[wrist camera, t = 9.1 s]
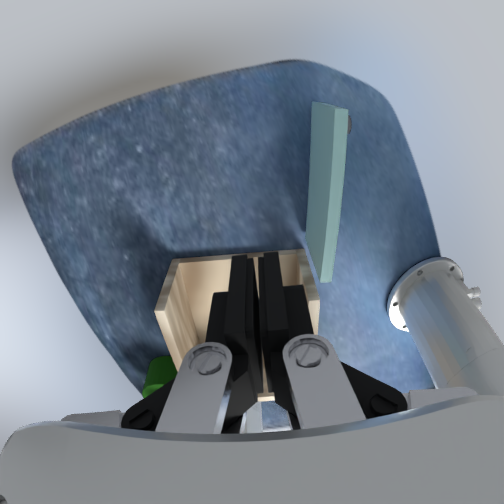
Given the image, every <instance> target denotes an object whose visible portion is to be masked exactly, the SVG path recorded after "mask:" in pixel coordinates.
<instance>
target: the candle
mask: <svg viewBox="0 0 504 504" xmlns="http://www.w3.org/2000/svg"><path fill="white" fill-rule="evenodd" d="M177 373H178V371H177V369H176V367H175V364H174V362H173V359H172V357H171V356H160V357H157V358H155V359H153V360H152V361H151V362H150V365H149V368H148V372H147V376H146V380H145V384H144V388H143V392H142V395H143V398H145V397H147V396H148V395H150V394H151V393H153V392H154V391H156V390H157V389H159V388H160V387H162V386H163V385H165V384H166V383H168V382H169V381H170V380H172V379H173V378H175V377H176V376H177Z"/></svg>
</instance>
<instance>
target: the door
mask: <svg viewBox="0 0 504 504" xmlns="http://www.w3.org/2000/svg"><path fill="white" fill-rule="evenodd" d="M350 131H351V118H350V116H349V115H348V109H345V108H341V107H338V106H334V105H331V104H327V103H323V102H312V109H311V145H310V169H309V189H308V206H307V221H306V235H305V239H306V242H307V245H308V248H309V251H310V254H311V257H312V260H313V263H314V266H315V269H316V272H317V275H318V278H319V281H320V283H325V282H331V280H332V273H333V267H334V260H335V253H336V245H337V237H338V230H339V221H340V212H341V203H342V194H343V183H344V172H345V160H346V146H347V134H349V133H350Z"/></svg>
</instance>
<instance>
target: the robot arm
mask: <svg viewBox="0 0 504 504" xmlns="http://www.w3.org/2000/svg"><path fill="white" fill-rule="evenodd" d="M263 255H264V257H258V282H259V296H258V289H257V281H256V274H255V266H254V259H253V258H248V256H247V254H245V255H235V256H232V259H231V269H230V278H229V287H228V291H226V292H214V293H213V296H212V302H211V308H210V314H209V320H208V326H207V333H206V339H205V343H202V344H198V345H196V346H195V347H193V348H191V349H190V350H189V351H188V352H187V353H186V355H185V356H184V358H183V361H182V363H181V366H180V368H179V371H178V373H177V376H176V377H175V378H173V379H172V380H170V381H169V382H168V383H166V384H165V385H163V386H162V387H160V388H159V389H157V390H156V391H154V392H153V393H151V394H150V395H148V396H147V397H145V398H144V399H143V400H141V401H139V402H138V403H136V404H135V405H133V406H132V407H131V408H129V409H128V410H127V411H126V412H125V413H121V411H120V410H116V411H107V412H95V413H83V414H71V415H67V416H66V417H64V418H63V419H62V420H61V421H44V422H38V423H33V424H29V425H26V426H23V427H21V428H19V429H17V430H16V431H15V432H14V433H13V434H12V435H11V436H10V437H9V439H8V440H7V442H6V444H5V446H4V448H3V450H2V452H1V454H0V504H504V345H503V343H502V342H501V340H500V339H499V337H498V336H497V335H496V333H495V332H494V330H493V329H492V327H491V326H490V324H489V323H488V322H487V320H486V319H485V317H484V316H483V315H482V313H481V312H480V311H479V309H480V308H481V305H482V303H481V300H480V298H478V297H477V298H472V299H470V298H471V297H475V296H479V295H480V288H479V287H474V288H471V289H468V288H467V287H466V285H465V284H464V283H463V273H462V271H461V269H460V268H459V266H458V265H457V264H456V263H455V262H454V261H453V260H451V259H449V258H446V257H434V258H430V259H427V260H424V261H422V262H420V263H418V264H416V265H415V266H413V267H412V268H410V269H409V270H408V271H407V272H406V273H405V274H403V276H402V277H401V278H400V279H399V280H398V281H397V283H396V284H395V286H394V287H393V289H392V291H391V293H390V295H389V298H388V302H387V313H388V316H389V318H390V320H391V322H392V323H393V325H394V326H395V327H397V328H398V329H401V330H404V331H409V333H410V335H411V337H412V339H413V341H414V343H415V345H416V347H417V349H418V351H419V353H420V355H421V357H422V359H423V361H424V363H425V366H426V368H427V370H428V372H429V374H430V376H431V378H432V381H433V383H434V385H435V387H436V389H425V390H410V391H409V393H401V392H399V391H398V390H396V389H395V388H393V387H391V386H389V385H387V384H385V383H383V382H381V381H379V380H377V379H374V378H372V377H370V376H368V375H366V374H364V373H362V372H360V371H358V370H357V369H355V368H353V367H351V366H349V365H347V364H345V363H343V362H341V361H340V360H339V358H338V356H337V354H336V352H335V350H334V347H333V346H332V344H331V343H330V342H329V341H328V340H327V339H325V338H324V337H322V336H319V335H314V331H313V327H312V322H311V317H310V313H309V308H308V303H307V299H306V294H305V290H304V286H303V284H301V285H291V286H283V282H282V275H281V267H280V260H279V253H278V251H275V252H265V253H263ZM262 351H263V354H262ZM263 358H264V365H265V372H266V379H267V386H268V393H272V392H274V397H275V403H277V404H278V405H280V406H281V407H283V408H284V409H286V410H287V417H288V420H289V424H290V428H291V430H289V431H278V432H264V433H244V428H245V423H246V418H247V410H248V409H250V408H251V407H252V406H253V405H254V404H255V403H256V402H258V394H259V393H263V392H264V389H263Z"/></svg>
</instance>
